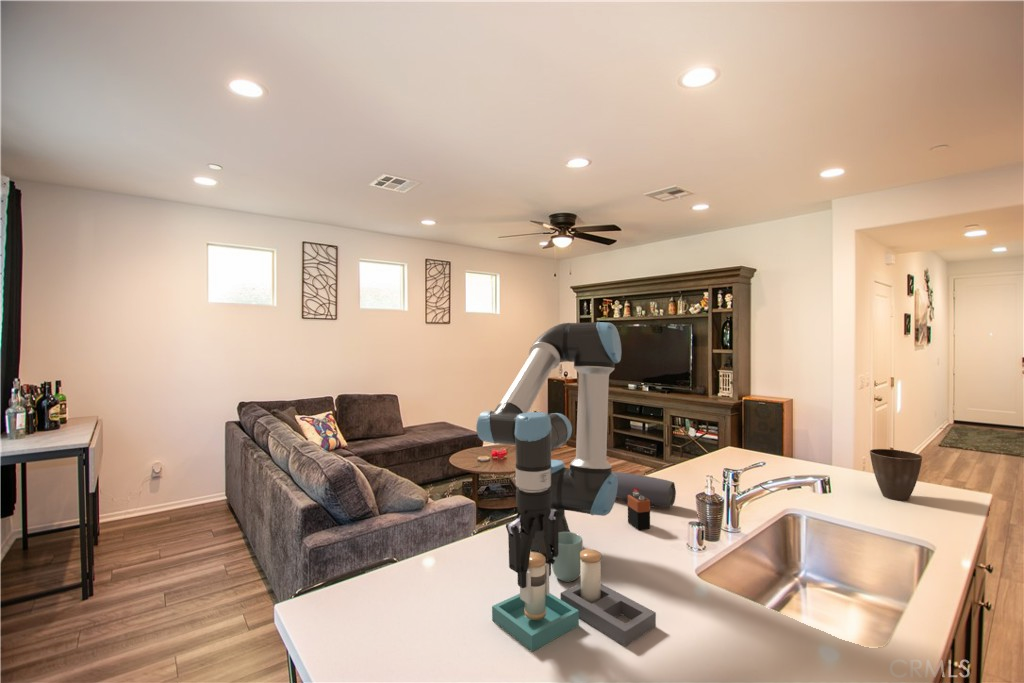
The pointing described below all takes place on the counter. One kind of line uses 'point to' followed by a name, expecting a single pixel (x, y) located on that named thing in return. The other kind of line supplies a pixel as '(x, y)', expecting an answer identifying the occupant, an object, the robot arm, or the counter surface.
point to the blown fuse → (536, 588)
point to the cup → (568, 556)
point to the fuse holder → (612, 614)
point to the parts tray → (535, 631)
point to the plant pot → (896, 472)
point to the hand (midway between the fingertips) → (534, 596)
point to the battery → (638, 511)
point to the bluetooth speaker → (646, 488)
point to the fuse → (590, 575)
